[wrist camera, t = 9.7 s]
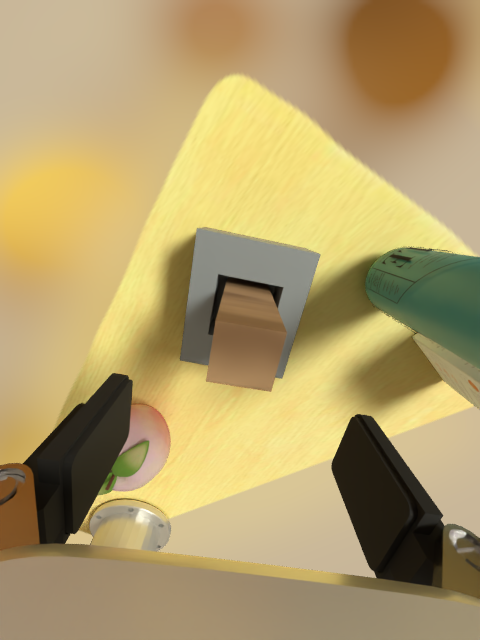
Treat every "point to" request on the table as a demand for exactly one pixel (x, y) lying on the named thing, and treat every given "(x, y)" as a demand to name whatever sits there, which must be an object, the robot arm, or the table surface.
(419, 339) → the small box
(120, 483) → the decorative fruit
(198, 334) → the socket block
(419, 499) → the robot arm
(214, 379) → the walnut peg
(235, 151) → the table surface
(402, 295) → the beverage bottle
